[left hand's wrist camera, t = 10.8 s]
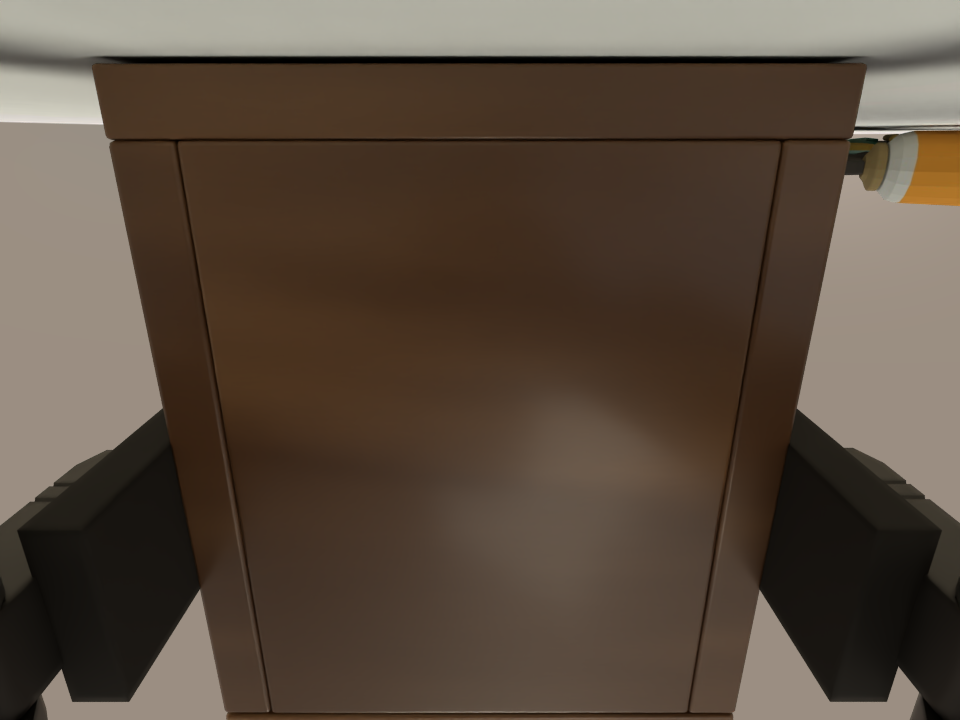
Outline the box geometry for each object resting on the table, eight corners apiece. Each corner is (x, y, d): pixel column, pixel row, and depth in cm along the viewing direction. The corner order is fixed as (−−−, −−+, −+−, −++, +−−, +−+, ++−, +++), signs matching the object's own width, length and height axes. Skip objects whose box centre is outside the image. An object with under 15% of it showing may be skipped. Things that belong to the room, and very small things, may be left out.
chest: (596, 118, 24) (580, 367, 27) (363, 119, 24) (379, 367, 27) (870, 63, 7) (735, 714, 11) (89, 62, 7) (223, 714, 11)
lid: (577, 361, 28) (568, 510, 31) (382, 361, 28) (391, 511, 31) (735, 716, 11) (681, 980, 14) (223, 716, 11) (278, 980, 14)
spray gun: (1055, 121, 40) (815, 118, 49) (1051, 135, 29) (742, 128, 38) (1032, 185, 42) (804, 171, 51) (1020, 222, 31) (731, 196, 40)
